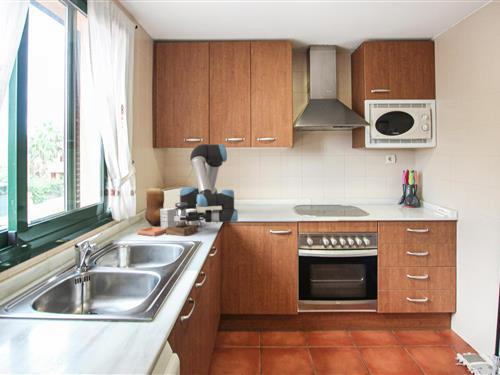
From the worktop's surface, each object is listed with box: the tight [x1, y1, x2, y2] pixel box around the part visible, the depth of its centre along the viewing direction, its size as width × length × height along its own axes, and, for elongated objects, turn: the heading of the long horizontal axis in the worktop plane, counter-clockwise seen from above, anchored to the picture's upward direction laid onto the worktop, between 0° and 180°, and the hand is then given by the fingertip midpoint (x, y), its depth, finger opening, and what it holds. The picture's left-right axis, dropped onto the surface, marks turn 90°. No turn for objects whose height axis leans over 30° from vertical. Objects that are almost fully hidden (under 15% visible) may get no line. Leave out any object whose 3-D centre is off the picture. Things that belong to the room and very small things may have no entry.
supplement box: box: [160, 207, 177, 228], centre depth 231 cm, size 7×7×13 cm
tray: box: [137, 226, 166, 237], centre depth 215 cm, size 13×13×2 cm
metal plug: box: [174, 202, 187, 228], centre depth 215 cm, size 7×7×18 cm
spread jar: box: [186, 208, 205, 228], centre depth 234 cm, size 12×11×12 cm
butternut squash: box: [144, 187, 165, 227], centre depth 240 cm, size 14×13×25 cm
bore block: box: [165, 225, 198, 237], centre depth 216 cm, size 13×13×4 cm
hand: (175, 216), depth 215 cm, fingers open, 13 cm apart
